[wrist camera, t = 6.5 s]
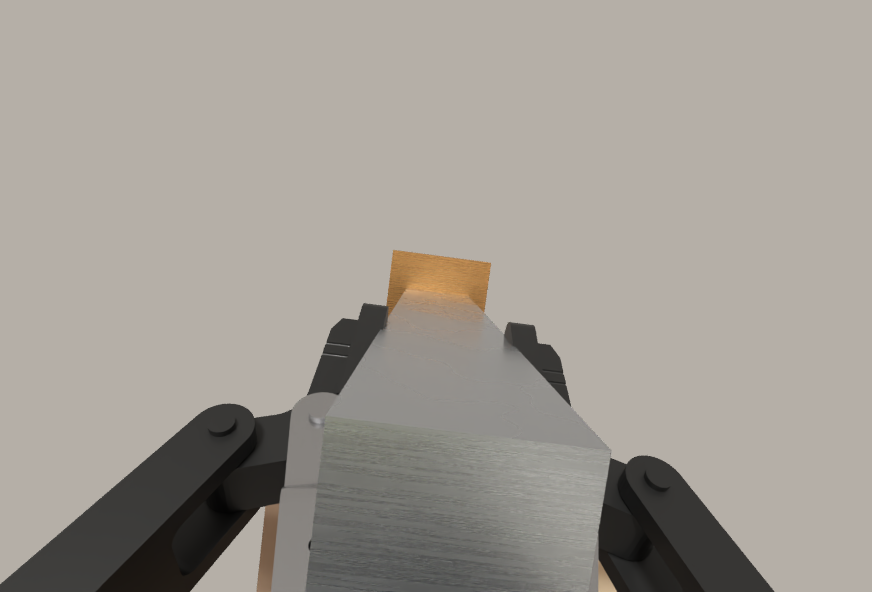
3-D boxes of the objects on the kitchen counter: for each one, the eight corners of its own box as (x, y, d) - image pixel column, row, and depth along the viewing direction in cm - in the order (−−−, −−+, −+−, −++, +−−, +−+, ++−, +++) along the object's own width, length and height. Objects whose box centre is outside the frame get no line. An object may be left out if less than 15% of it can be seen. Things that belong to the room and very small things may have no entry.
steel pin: (644, 722, 6) (720, 299, 6) (214, 675, 6) (258, 239, 6) (471, 345, 32) (483, 261, 32) (387, 335, 32) (397, 250, 32)
